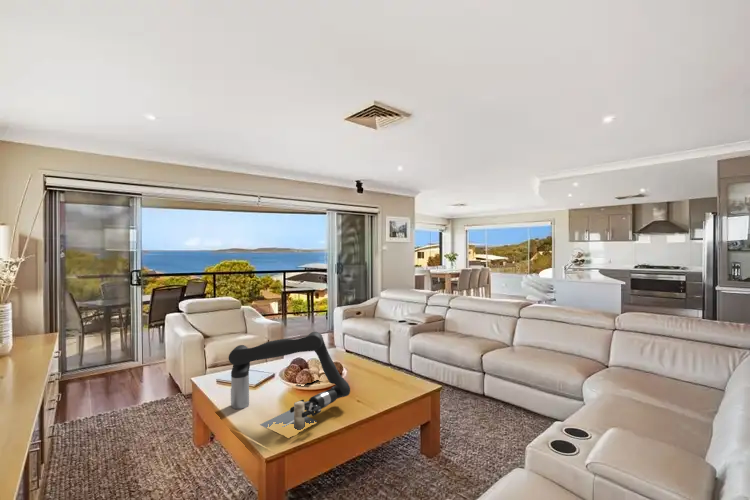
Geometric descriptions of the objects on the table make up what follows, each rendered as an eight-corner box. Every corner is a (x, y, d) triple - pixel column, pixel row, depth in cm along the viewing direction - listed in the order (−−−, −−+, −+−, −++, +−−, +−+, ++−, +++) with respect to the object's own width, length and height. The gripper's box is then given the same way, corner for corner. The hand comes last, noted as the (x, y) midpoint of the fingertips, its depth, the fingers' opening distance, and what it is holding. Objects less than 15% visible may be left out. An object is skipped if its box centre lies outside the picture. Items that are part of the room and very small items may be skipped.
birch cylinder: (292, 427, 184) (291, 404, 183) (299, 423, 188) (299, 400, 187) (298, 431, 181) (298, 406, 180) (306, 426, 185) (306, 403, 184)
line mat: (259, 425, 187) (259, 424, 187) (290, 410, 203) (290, 409, 203) (288, 440, 174) (288, 438, 174) (319, 422, 190) (319, 421, 190)
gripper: (310, 390, 199) (286, 401, 186) (329, 397, 191) (306, 409, 178) (310, 404, 200) (286, 416, 187) (330, 412, 191) (306, 425, 178)
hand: (296, 413), depth 182 cm, fingers open, 8 cm apart
